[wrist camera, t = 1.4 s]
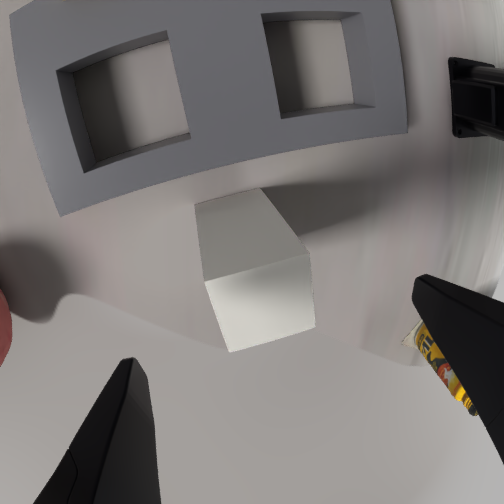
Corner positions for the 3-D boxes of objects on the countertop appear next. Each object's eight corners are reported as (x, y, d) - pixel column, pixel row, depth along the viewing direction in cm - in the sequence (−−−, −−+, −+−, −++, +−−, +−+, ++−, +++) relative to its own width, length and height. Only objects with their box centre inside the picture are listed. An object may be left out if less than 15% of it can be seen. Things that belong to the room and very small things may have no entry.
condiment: (400, 342, 30) (458, 425, 20) (449, 282, 27) (523, 357, 17) (428, 351, 33) (478, 420, 23) (470, 300, 30) (531, 363, 20)
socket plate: (355, -39, 12) (406, -64, 7) (384, 126, 18) (441, 143, 13) (28, 21, 10) (-20, 6, 5) (74, 201, 16) (39, 243, 11)
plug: (259, 187, 18) (309, 252, 11) (270, 244, 20) (315, 327, 14) (194, 204, 18) (204, 282, 11) (210, 261, 20) (229, 352, 13)
